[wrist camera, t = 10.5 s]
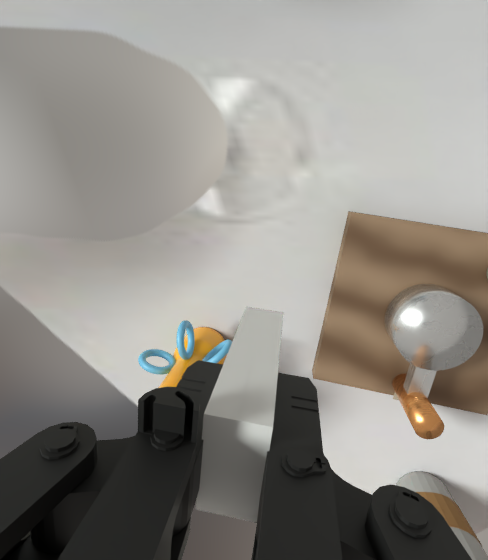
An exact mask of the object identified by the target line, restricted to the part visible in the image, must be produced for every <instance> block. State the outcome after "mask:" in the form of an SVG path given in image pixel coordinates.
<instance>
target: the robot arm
mask: <svg viewBox="0 0 488 560" xmlns="http://www.w3.org/2000/svg"><path fill="white" fill-rule="evenodd" d="M282 323H283V312H278V311H271V310H265V309H258V308H252V307H246V309H245V311H244V314H243V316H242V319H241V321H240V324H239V326H238V329H237V331H236V334H235V336H234V339H233V341H232V344H231V347H230V349H229V352H228V354H227V357H226V359H225V362H224V364H218V363H212V362H206V361H200V360H198V361H196V362H195V363H193V364H192V365H190V366H189V367H187V369H186V371H185V372H184V374H183V376H182V378H181V379H180V381H179V383H178V384H177V387H162V388H156V389H154V390H152V391H149V392H147V393H145V394H144V395H143V396H142V397H141V398H140V399H139V400H138V433H137V434H136V436H133V437H130V438H124V439H115V440H100V441H96V435H95V432H94V430H93V429H92V428H90V427H89V426H88V425H86V424H82V423H78V422H70V423H61V424H58V425H54V426H51V427H48V428H47V429H45V430H43V431H41V432H39V433H37V434H36V435H34V436H33V437H32V438H30V439H29V440H27V441H26V442H24V443H23V444H22V445H20V446H19V447H17V448H16V449H14V450H13V451H11V452H10V453H9V454H7V455H6V456H4V457H3V458H1V459H0V560H181V559H182V556H183V553H184V550H185V546H186V543H187V540H188V536H189V531H190V521H191V514H192V511H193V508H194V505H195V501H196V498H197V501H196V509H197V510H201V511H206V512H210V513H215V514H219V515H223V516H228V517H233V518H237V519H241V520H246V521H250V522H255V523H257V527H256V534H255V541H254V547H253V553H252V560H472V559H471V557H470V556H469V554H468V553H467V551H466V550H465V548H464V547H463V545H462V544H461V542H460V541H459V539H458V538H457V537H456V535H455V534H454V532H453V531H452V529H451V528H450V526H449V525H448V523H447V522H446V520H445V519H444V517H443V516H442V515H441V514H440V512H439V511H438V510H437V509H436V508H435V507H434V506H433V504H432V503H430V502H429V501H428V500H426V499H425V498H424V497H422V496H421V495H420V494H418V493H416V492H414V491H412V490H410V489H407V488H405V487H401V486H395V485H387V486H382V487H379V488H378V489H377V490H376V491H375V492H374V493H373V495H371V494H369V493H367V492H365V491H363V490H361V489H358V488H356V487H354V486H352V485H351V484H349V483H347V482H346V481H344V480H343V479H341V478H340V477H339V476H338V475H337V474H335V473H334V471H333V470H332V469H331V468H330V465H329V462H328V460H327V459H326V457H325V456H324V454H323V448H322V438H321V428H320V419H319V413H318V411H319V409H318V403H317V402H318V399H317V390H316V388H315V386H314V385H313V384H312V382H311V381H310V379H309V378H305V377H299V376H293V375H288V374H282V373H278V367H279V356H280V345H281V334H282Z"/></svg>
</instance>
